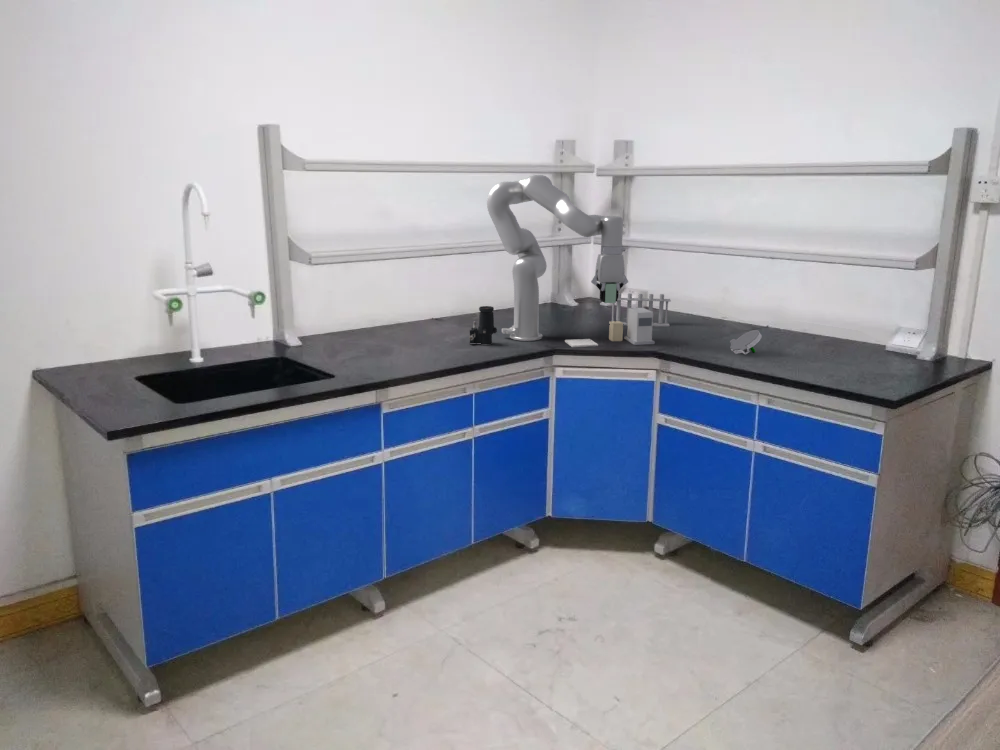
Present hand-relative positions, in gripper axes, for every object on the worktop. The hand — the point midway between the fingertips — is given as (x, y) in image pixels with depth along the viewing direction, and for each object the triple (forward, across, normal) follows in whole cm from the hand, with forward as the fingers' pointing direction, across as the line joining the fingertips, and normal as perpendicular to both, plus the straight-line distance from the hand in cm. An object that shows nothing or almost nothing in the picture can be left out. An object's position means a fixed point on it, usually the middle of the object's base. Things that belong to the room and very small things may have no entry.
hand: (608, 300), depth 284 cm
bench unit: (+17, -14, -4) cm, 22 cm away
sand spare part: (+17, -6, -8) cm, 20 cm away
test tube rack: (+17, -26, -35) cm, 47 cm away
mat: (+17, +9, -4) cm, 19 cm away
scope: (+17, +45, -11) cm, 49 cm away
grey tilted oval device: (+17, -45, +21) cm, 52 cm away
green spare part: (0, 0, 0) cm, 1 cm away
